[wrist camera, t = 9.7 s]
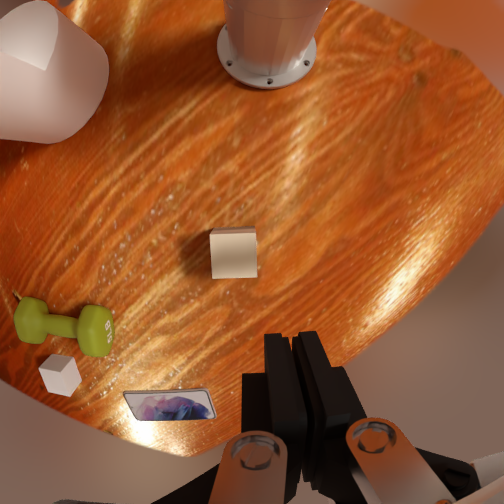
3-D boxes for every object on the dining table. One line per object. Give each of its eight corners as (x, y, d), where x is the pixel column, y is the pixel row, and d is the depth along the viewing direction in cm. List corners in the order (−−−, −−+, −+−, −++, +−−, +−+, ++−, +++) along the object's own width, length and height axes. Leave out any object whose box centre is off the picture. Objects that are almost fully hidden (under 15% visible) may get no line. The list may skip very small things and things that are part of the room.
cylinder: (78, 157, 35) (-96, 154, 7) (7, 130, 33) (-128, 123, 6) (130, 44, 31) (15, -69, 4) (49, 34, 29) (-62, -29, 2)
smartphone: (217, 419, 44) (136, 421, 44) (217, 415, 45) (137, 417, 45) (207, 388, 42) (121, 392, 43) (207, 385, 43) (123, 389, 43)
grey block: (52, 353, 42) (38, 367, 37) (73, 356, 42) (60, 372, 37) (60, 376, 43) (48, 391, 38) (82, 380, 43) (70, 396, 38)
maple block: (214, 227, 37) (209, 234, 33) (254, 226, 38) (255, 232, 33) (216, 266, 39) (212, 278, 34) (255, 265, 39) (257, 277, 34)
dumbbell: (114, 297, 39) (93, 318, 32) (121, 345, 41) (103, 371, 34) (31, 287, 39) (5, 303, 32) (40, 331, 41) (18, 350, 34)
